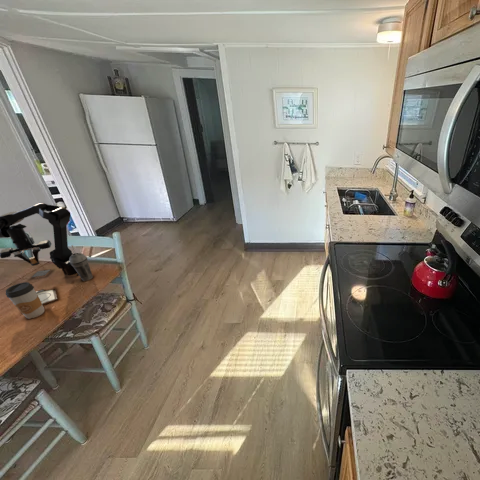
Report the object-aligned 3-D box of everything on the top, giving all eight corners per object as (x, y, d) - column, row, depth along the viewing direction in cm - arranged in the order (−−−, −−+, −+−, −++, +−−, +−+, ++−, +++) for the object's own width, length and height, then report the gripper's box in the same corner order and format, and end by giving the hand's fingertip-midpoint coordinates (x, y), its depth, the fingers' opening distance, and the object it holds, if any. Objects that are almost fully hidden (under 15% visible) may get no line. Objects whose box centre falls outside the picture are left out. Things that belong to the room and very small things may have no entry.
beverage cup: (77, 283, 140) (59, 251, 131) (81, 276, 146) (64, 244, 136) (94, 280, 143) (78, 247, 134) (97, 273, 149) (82, 241, 139)
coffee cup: (18, 322, 115) (-1, 295, 108) (28, 310, 122) (10, 284, 115) (43, 317, 118) (25, 290, 111) (51, 305, 125) (35, 279, 118)
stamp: (41, 262, 147) (37, 256, 145) (37, 265, 144) (33, 258, 142) (33, 263, 146) (29, 257, 144) (30, 266, 143) (26, 259, 141)
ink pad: (53, 270, 152) (52, 268, 151) (46, 276, 146) (45, 275, 146) (37, 272, 150) (37, 271, 150) (30, 279, 144) (29, 278, 144)
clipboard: (54, 287, 137) (53, 285, 137) (57, 299, 129) (56, 297, 128) (22, 298, 130) (20, 296, 129) (23, 312, 121) (21, 310, 120)
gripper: (45, 227, 148) (58, 251, 155) (-3, 236, 138) (13, 261, 145) (42, 233, 140) (56, 259, 147) (-9, 244, 130) (8, 270, 137)
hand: (34, 262), depth 144 cm, fingers closed on stamp, 2 cm apart
